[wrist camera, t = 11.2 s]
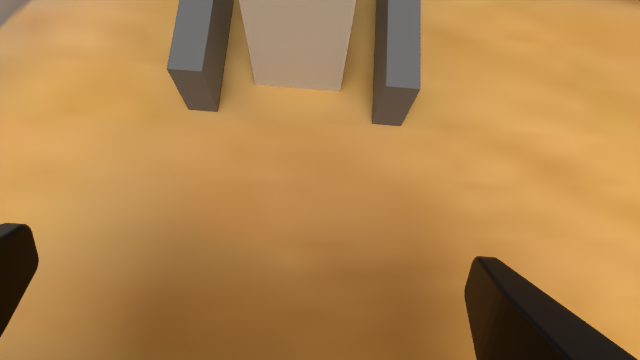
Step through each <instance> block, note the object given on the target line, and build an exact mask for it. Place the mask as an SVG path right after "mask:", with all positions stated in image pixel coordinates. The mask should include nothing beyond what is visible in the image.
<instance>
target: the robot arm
mask: <svg viewBox="0 0 640 360" xmlns="http://www.w3.org/2000/svg"><path fill="white" fill-rule="evenodd" d="M38 262H39V258H38V253H37V250H36V246H35V242H34V238H33V234H32V231H31V229H30V227H29V226H27V225H26V224H15V223H4V224H1V225H0V337H1V335H2V333H3V332H4V330H5V328H6V326H7V325H8V323H9V321H10V319H11V317H12V315H13V313H14V312H15V310H16V308H17V306H18V304H19V302H20V300H21V298H22V297H23V295H24V293H25V291H26V289H27V287H28V285H29V283H30V281H31V280H32V278H33V276H34V274H35V272H36V270H37V267H38ZM464 295H465V302H466V308H467V313H468V318H469V323H470V328H471V333H472V338H473V343H474V349H475V354H476V358H477V360H638V359H636V358H635V357H633V356H632V355H631V354H629V353H628V352H626V351H625V350H624V349H622V348H621V347H619V346H618V345H617V344H615V343H614V342H613V341H611V340H610V339H608V338H607V337H606V336H604V335H603V334H601V333H600V332H599V331H597V330H596V329H594V328H593V327H592V326H590V325H589V324H588V323H586V322H585V321H583V320H582V319H581V318H579V317H578V316H576V315H575V314H574V313H572V312H571V311H569V310H568V309H567V308H565V307H564V306H563V305H561V304H560V303H558V302H557V301H556V300H554V299H553V298H551V297H550V296H549V295H547V294H546V293H544V292H543V291H542V290H540V289H539V288H538V287H536V286H535V285H533V284H532V283H531V282H529V281H528V280H526V279H525V278H524V277H522V276H521V275H519V274H518V273H517V272H515V271H514V270H513V269H511V268H510V267H508V266H507V265H506V264H504V263H503V262H501V261H500V260H499V259H497V258H495V257H482V256H477V257H476V258H474V260H473V262H472V265H471V268H470V272H469V275H468V279H467V282H466V286H465V294H464Z"/></svg>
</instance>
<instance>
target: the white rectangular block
mask: <svg viewBox="0 0 640 360" xmlns="http://www.w3.org/2000/svg"><path fill="white" fill-rule="evenodd" d="M239 3H240V8H241V14H242V19H243V24H244V29H245V34H246V40H247V45H248V50H249V55H250V60H251V65H252V71H253V76H254V81H255V85H264V86H277V87H290V88H303V89H315V90H328V91H340V89H341V84H342V78H343V72H344V67H345V61H346V55H347V50H348V44H349V38H350V33H351V27H352V22H353V16H354V10H355V5H356V0H239Z"/></svg>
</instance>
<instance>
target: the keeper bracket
mask: <svg viewBox="0 0 640 360" xmlns="http://www.w3.org/2000/svg"><path fill="white" fill-rule="evenodd" d="M233 1H234V0H179V5H178V11H177V16H176V22H175V27H174V33H173V38H172V44H171V49H170V54H169V60H168V65H167V70H168V72H169V74H170V76H171V77H172V79H173V81H174V83H175V85H176V87H177V89H178V91H179V92H180V94H181V96H182V98H183V100H184V102H185V104H186V106H187V107H188V109H191V110H204V111H217V112H218V106H219V99H220V92H221V85H222V78H223V71H224V64H225V57H226V50H227V43H228V36H229V29H230V22H231V15H232V8H233ZM419 91H420V0H376V26H375V54H374V83H373V112H372V124H383V125H396V126H401V125H402V123H403V121H404V119H405V117H406V115H407V113H408V111H409V109H410V108H411V106H412V104H413V102H414V100H415V98H416V96H417V94H418V92H419Z"/></svg>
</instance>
